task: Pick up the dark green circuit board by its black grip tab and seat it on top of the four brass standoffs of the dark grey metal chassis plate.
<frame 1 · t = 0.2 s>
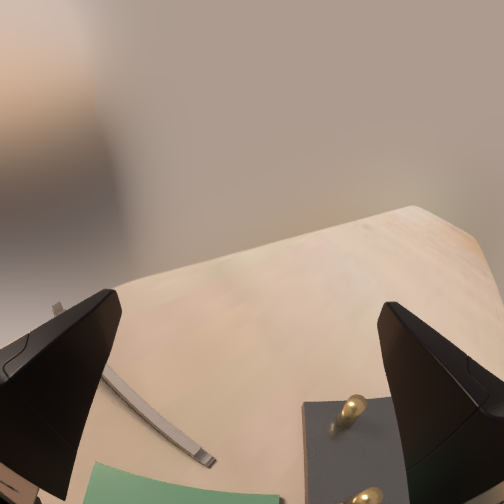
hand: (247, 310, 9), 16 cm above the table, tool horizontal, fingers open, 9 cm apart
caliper: (123, 397, 22), on the table
chassis: (404, 454, 17), on the table
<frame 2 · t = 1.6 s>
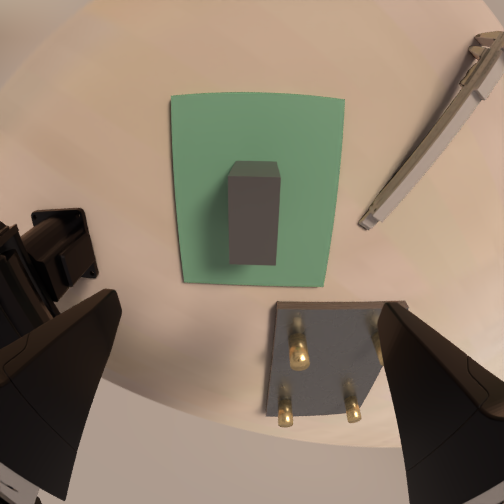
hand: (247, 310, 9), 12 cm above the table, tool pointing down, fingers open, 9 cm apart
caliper: (431, 119, 16), on the table
board: (255, 192, 20), on the table
chassis: (327, 367, 28), on the table
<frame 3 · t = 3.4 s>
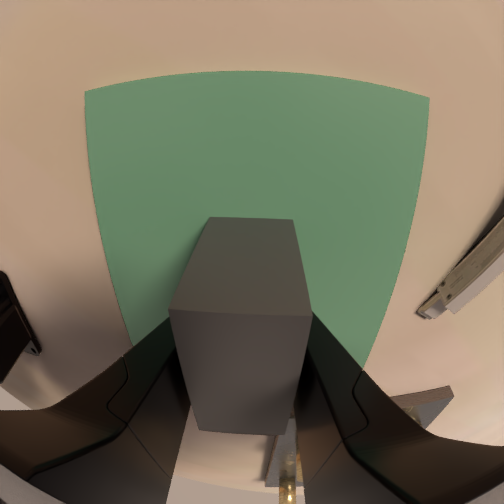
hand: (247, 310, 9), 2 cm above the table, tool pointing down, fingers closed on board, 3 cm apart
board: (251, 266, 11), on the table, touching gripper
chassis: (340, 451, 19), on the table
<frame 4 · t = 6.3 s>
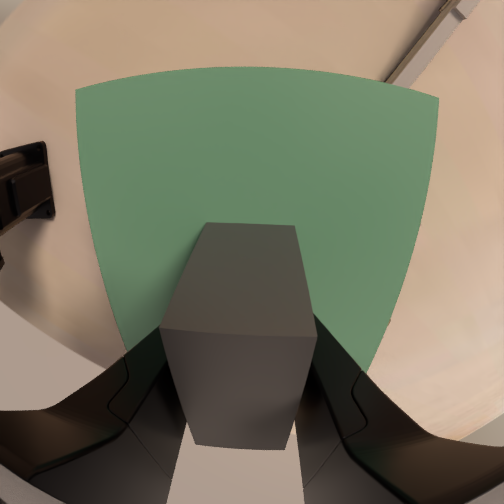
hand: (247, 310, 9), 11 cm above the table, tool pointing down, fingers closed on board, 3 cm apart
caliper: (413, 46, 13), on the table
board: (250, 273, 11), point 9 cm above the table, touching gripper
when the fingers open (7 cm above the table, at t = 8.5 s): board drops 1 cm, resting on chassis.
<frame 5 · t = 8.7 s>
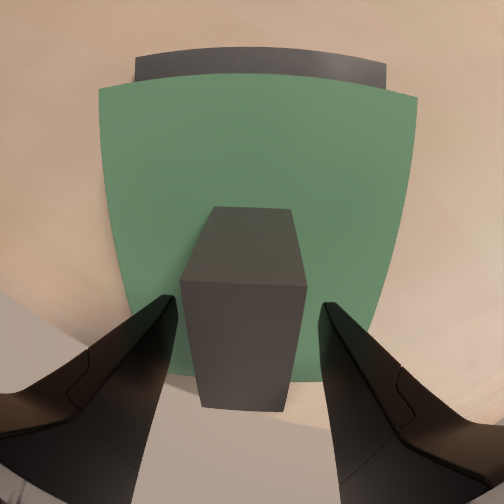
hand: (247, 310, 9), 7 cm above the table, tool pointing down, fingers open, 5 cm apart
board: (252, 255, 12), point 4 cm above the table, touching chassis
chassis: (256, 220, 15), on the table
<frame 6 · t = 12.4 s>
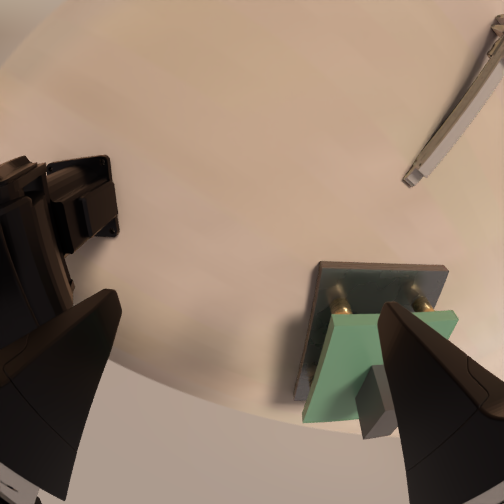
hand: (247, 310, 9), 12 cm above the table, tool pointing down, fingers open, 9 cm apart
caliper: (464, 86, 14), on the table
board: (373, 371, 22), point 4 cm above the table, touching chassis
chassis: (363, 341, 26), on the table
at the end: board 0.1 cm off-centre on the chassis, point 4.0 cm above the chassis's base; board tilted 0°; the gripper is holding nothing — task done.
